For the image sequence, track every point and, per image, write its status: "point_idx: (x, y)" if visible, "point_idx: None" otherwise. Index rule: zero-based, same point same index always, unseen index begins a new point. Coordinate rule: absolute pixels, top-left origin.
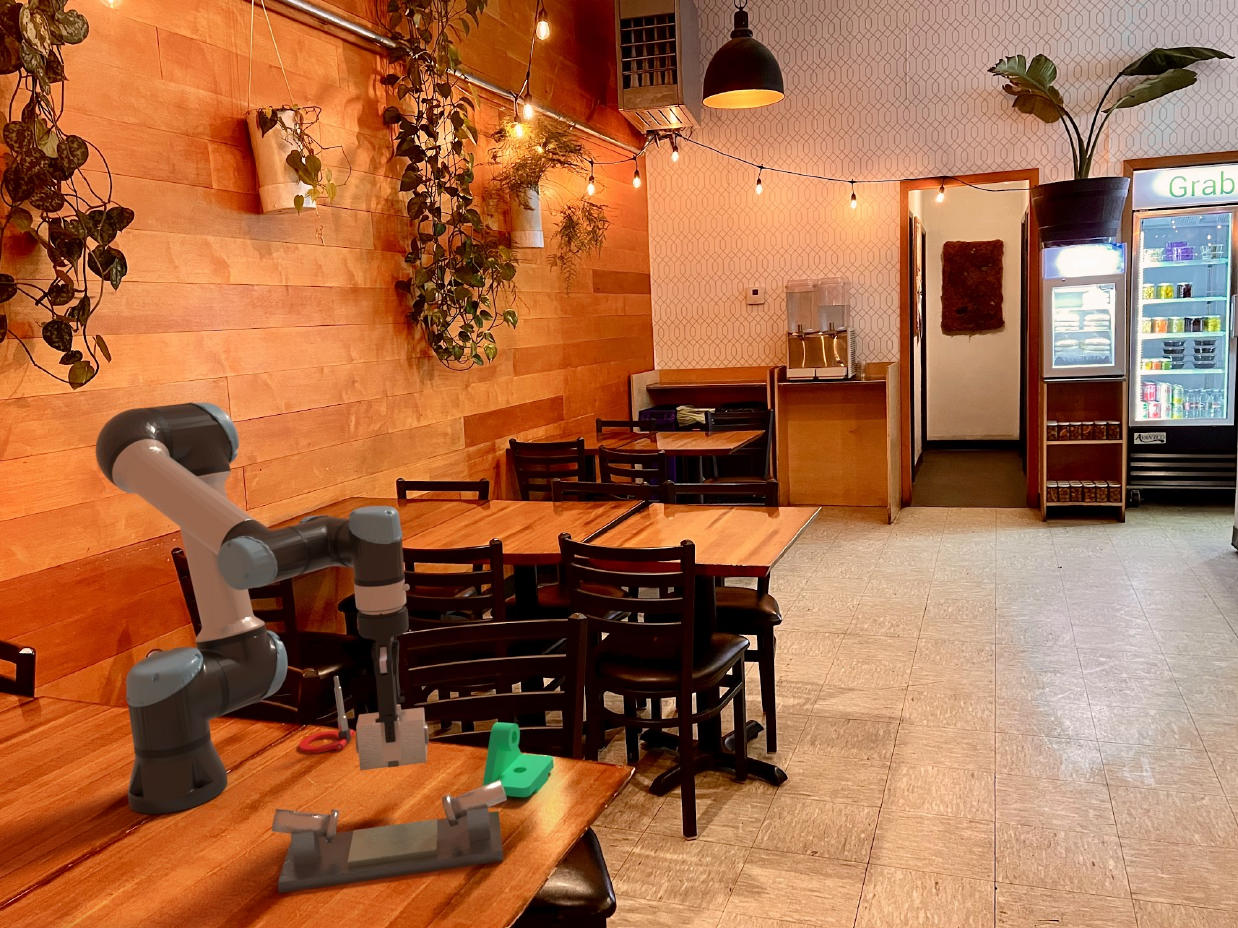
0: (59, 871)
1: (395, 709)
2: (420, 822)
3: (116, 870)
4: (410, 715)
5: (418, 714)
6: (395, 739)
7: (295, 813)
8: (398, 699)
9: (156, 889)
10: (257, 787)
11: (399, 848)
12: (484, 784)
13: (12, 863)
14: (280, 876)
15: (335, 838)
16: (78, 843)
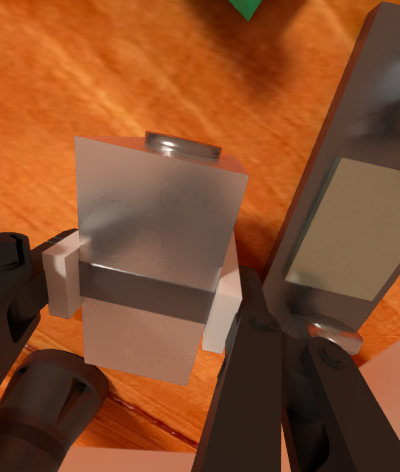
0: (180, 437)
1: (353, 403)
2: (332, 189)
3: (199, 417)
4: (163, 222)
5: (168, 184)
6: (243, 268)
7: None
8: (25, 272)
9: None
10: (72, 329)
11: (395, 237)
12: (253, 4)
13: (153, 450)
14: None
15: (275, 295)
16: (139, 428)
